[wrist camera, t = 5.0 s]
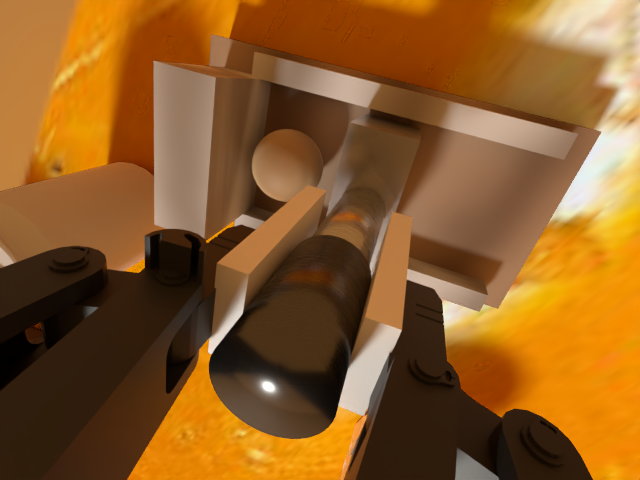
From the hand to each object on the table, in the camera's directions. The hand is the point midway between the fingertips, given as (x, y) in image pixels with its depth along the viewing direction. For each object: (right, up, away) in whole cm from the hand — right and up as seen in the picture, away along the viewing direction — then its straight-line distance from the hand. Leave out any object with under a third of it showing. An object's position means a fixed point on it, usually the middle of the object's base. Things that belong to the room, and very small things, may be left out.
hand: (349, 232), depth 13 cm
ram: (+2, +3, +7) cm, 8 cm away
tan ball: (-2, +5, +8) cm, 9 cm away
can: (-16, +3, +15) cm, 22 cm away
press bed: (+2, +4, +9) cm, 10 cm away
